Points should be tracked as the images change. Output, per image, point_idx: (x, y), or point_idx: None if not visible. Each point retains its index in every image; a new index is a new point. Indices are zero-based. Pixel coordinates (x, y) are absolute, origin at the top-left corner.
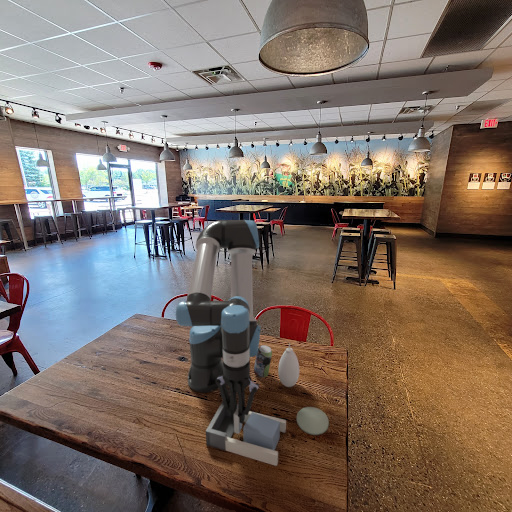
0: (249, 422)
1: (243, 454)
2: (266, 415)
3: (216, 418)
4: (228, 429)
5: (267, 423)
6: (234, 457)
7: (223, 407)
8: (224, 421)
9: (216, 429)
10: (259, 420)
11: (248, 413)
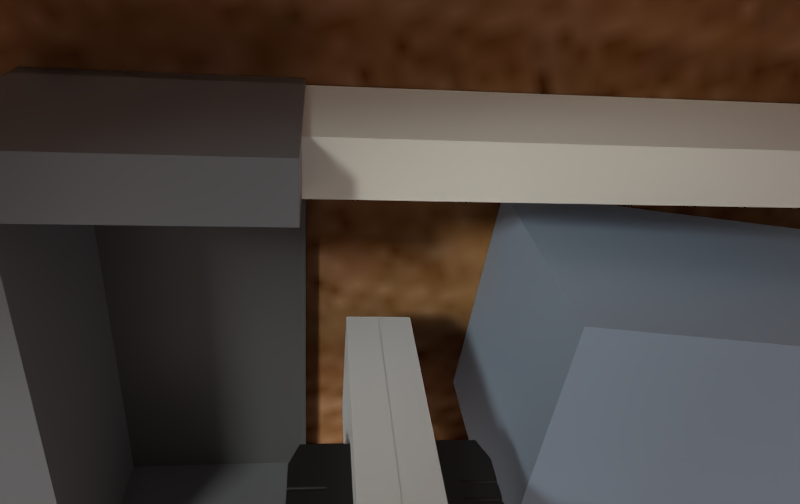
0: (572, 488)
1: None
2: (764, 154)
3: (48, 501)
4: (235, 315)
5: None
6: None
7: (12, 290)
8: (123, 230)
9: (108, 408)
10: (715, 423)
11: (471, 194)
